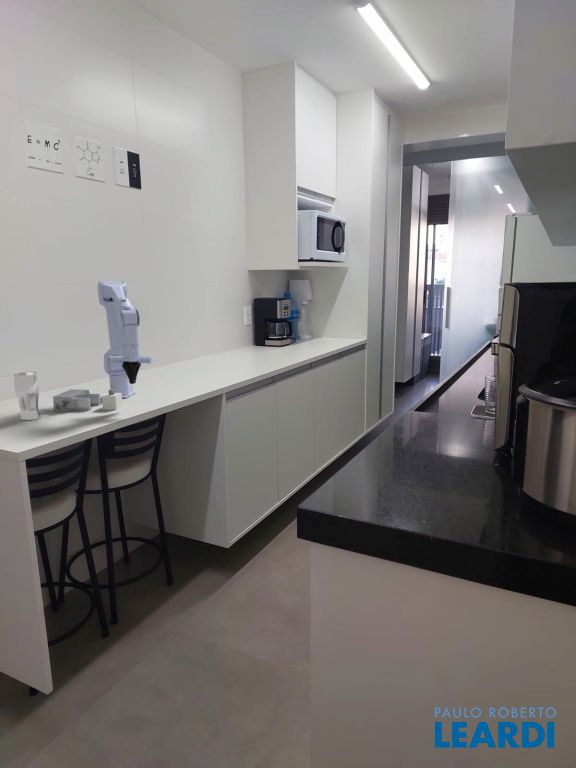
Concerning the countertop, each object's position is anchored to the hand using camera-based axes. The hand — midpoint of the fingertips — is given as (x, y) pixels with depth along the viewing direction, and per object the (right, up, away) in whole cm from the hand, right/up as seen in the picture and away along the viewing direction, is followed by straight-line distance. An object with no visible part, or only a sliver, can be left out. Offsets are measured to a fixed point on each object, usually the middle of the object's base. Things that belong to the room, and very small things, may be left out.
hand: (132, 383), depth 177 cm
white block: (-8, -9, +3) cm, 12 cm away
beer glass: (-30, -12, -11) cm, 34 cm away
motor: (-21, -9, +2) cm, 22 cm away
